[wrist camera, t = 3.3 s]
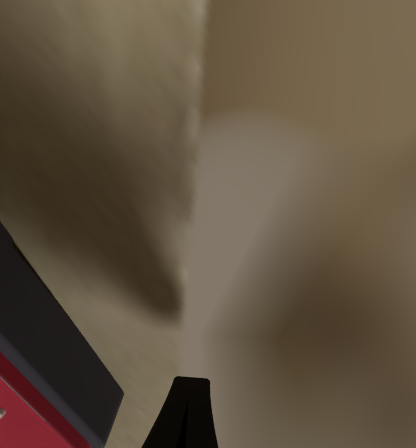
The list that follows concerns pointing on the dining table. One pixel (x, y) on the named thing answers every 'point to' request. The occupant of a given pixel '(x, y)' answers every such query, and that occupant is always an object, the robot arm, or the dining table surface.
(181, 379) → the robot arm
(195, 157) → the dining table surface
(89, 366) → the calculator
